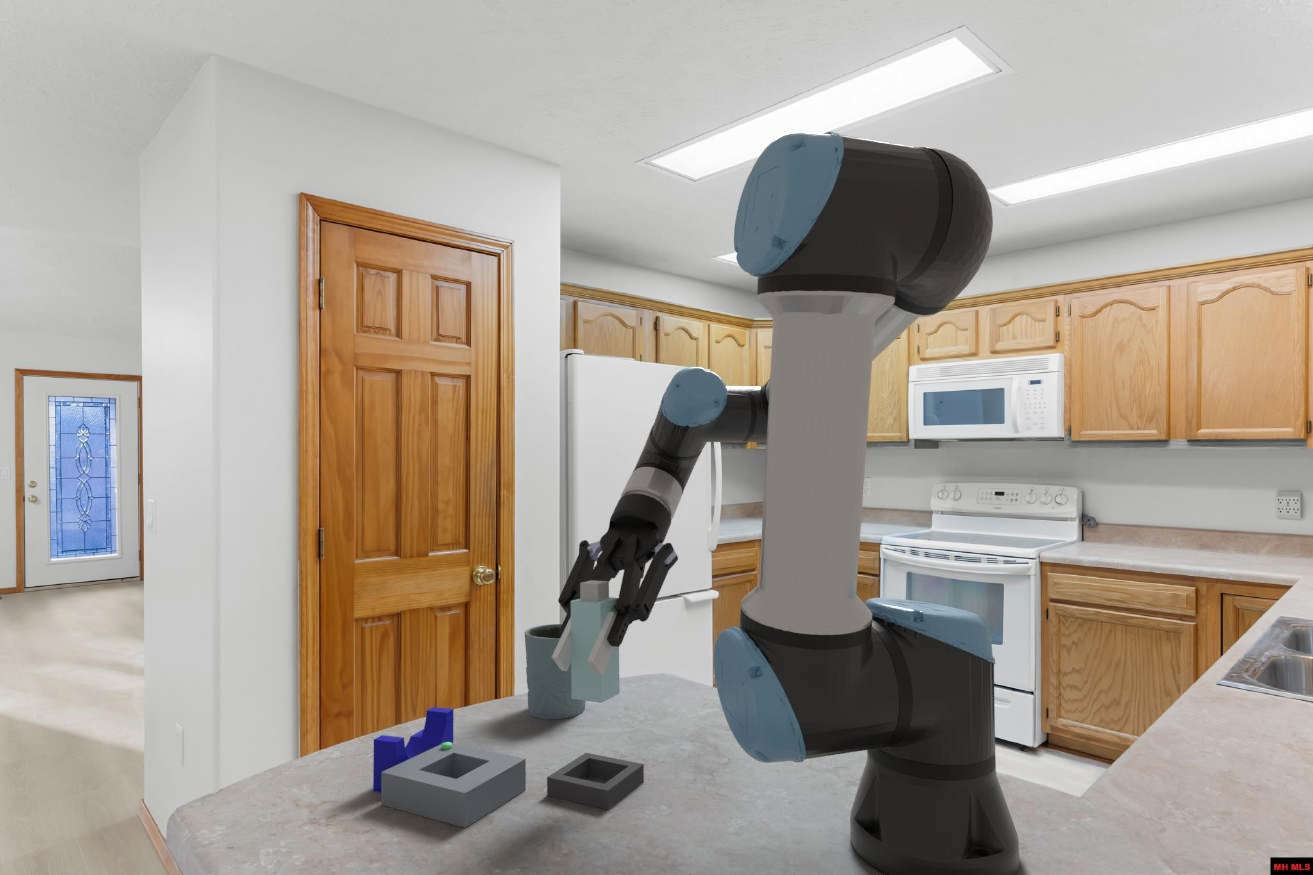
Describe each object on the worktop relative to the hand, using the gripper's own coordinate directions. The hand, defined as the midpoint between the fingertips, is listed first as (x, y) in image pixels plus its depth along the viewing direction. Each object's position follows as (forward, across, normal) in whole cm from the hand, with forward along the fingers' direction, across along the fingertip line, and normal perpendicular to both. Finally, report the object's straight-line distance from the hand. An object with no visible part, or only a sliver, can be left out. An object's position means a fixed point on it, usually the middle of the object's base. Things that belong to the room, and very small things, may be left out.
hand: (577, 665), depth 83 cm
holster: (+8, 0, -13) cm, 15 cm away
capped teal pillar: (0, 0, -6) cm, 6 cm away
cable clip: (+12, +23, -9) cm, 28 cm away
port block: (+14, +13, -7) cm, 20 cm away
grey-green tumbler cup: (-7, +20, -28) cm, 35 cm away
